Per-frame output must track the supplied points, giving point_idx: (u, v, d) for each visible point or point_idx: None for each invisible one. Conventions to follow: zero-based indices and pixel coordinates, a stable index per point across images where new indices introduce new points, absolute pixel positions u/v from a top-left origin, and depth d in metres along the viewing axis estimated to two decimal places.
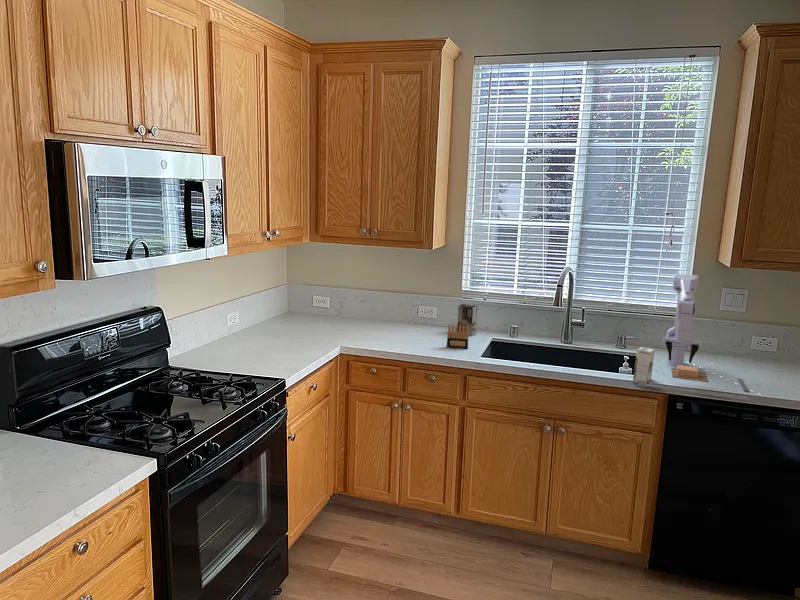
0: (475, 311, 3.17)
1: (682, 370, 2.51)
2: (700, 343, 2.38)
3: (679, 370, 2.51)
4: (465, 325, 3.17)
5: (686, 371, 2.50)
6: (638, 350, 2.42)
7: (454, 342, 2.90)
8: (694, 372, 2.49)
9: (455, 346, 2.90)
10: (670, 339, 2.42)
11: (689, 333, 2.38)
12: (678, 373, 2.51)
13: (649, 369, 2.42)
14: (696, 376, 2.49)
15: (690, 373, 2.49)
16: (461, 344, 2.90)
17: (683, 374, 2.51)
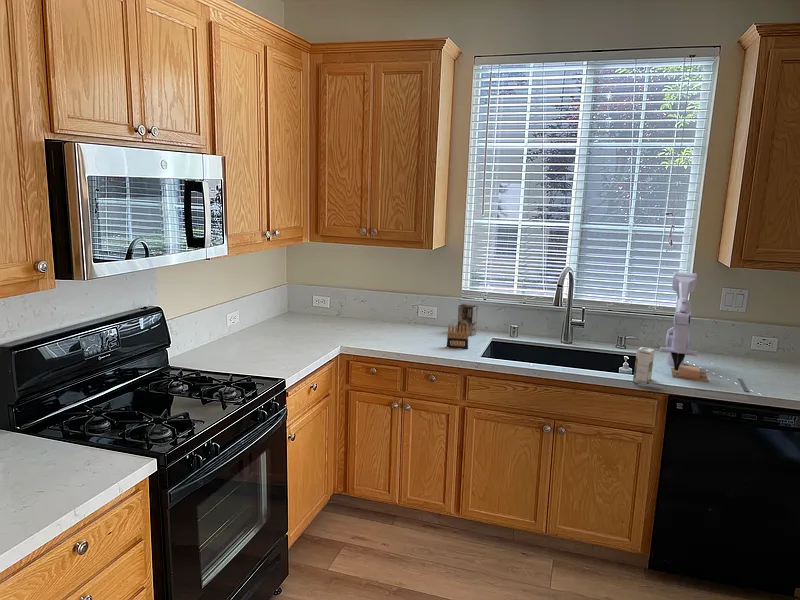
0: (475, 311, 3.17)
1: (684, 370, 2.50)
2: (695, 353, 2.50)
3: (681, 370, 2.51)
4: (465, 325, 3.17)
5: (688, 371, 2.50)
6: (638, 350, 2.42)
7: (454, 342, 2.90)
8: (696, 372, 2.49)
9: (455, 346, 2.90)
10: (667, 349, 2.53)
11: (685, 343, 2.50)
12: (680, 373, 2.51)
13: (649, 369, 2.42)
14: (698, 376, 2.48)
15: (692, 373, 2.49)
16: (461, 344, 2.90)
17: (685, 374, 2.50)
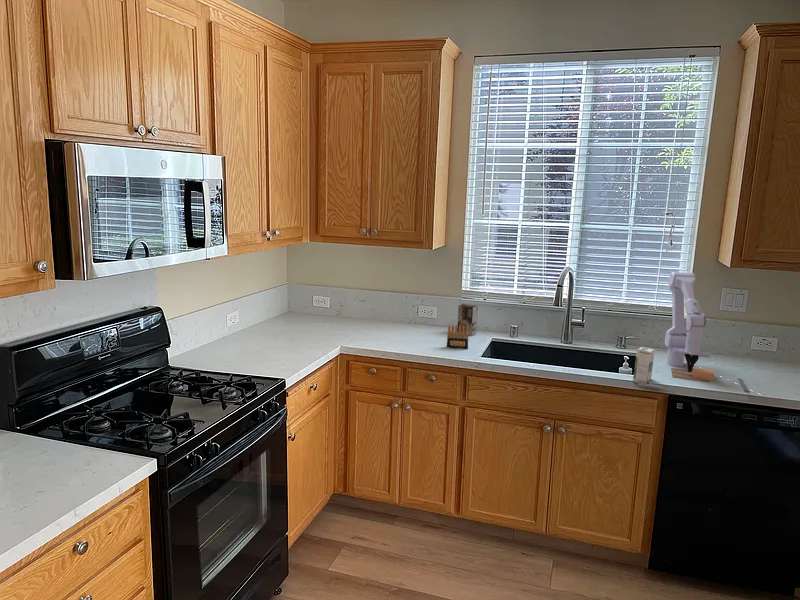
0: (475, 311, 3.17)
1: (698, 372, 2.48)
2: (709, 354, 2.48)
3: (694, 372, 2.49)
4: (465, 325, 3.17)
5: (702, 373, 2.48)
6: (638, 350, 2.42)
7: (454, 342, 2.90)
8: (710, 374, 2.46)
9: (455, 346, 2.90)
10: (680, 350, 2.51)
11: (698, 345, 2.48)
12: (693, 375, 2.49)
13: (649, 369, 2.42)
14: (712, 378, 2.46)
15: (706, 375, 2.47)
16: (461, 344, 2.90)
17: (699, 376, 2.48)
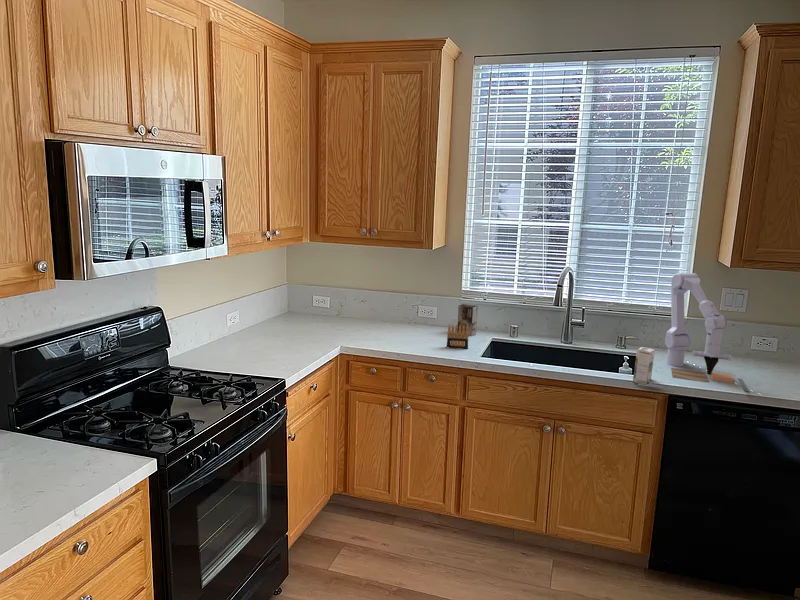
0: (475, 311, 3.17)
1: (716, 377, 2.46)
2: (729, 357, 2.45)
3: (713, 377, 2.46)
4: (465, 325, 3.17)
5: (720, 378, 2.45)
6: (638, 350, 2.42)
7: (454, 342, 2.90)
8: (729, 379, 2.44)
9: (455, 346, 2.90)
10: (700, 353, 2.49)
11: (718, 347, 2.45)
12: None
13: (649, 369, 2.42)
14: None
15: (725, 380, 2.45)
16: (461, 344, 2.90)
17: None
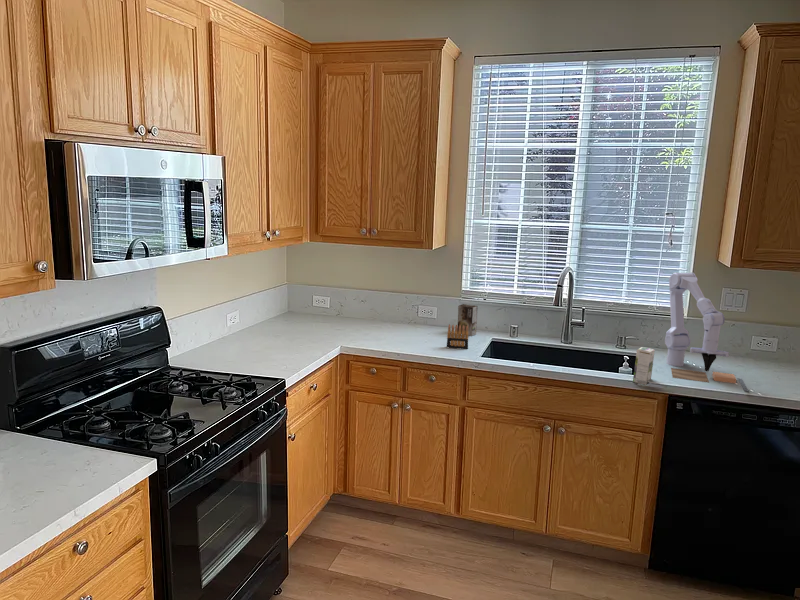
0: (475, 311, 3.17)
1: (719, 377, 2.45)
2: (727, 353, 2.45)
3: (716, 377, 2.46)
4: (465, 325, 3.17)
5: (723, 378, 2.45)
6: (638, 350, 2.42)
7: (454, 342, 2.90)
8: (731, 379, 2.44)
9: (455, 346, 2.90)
10: (697, 349, 2.49)
11: (716, 344, 2.45)
12: (715, 380, 2.46)
13: (649, 369, 2.42)
14: None
15: (727, 380, 2.44)
16: (461, 344, 2.90)
17: None
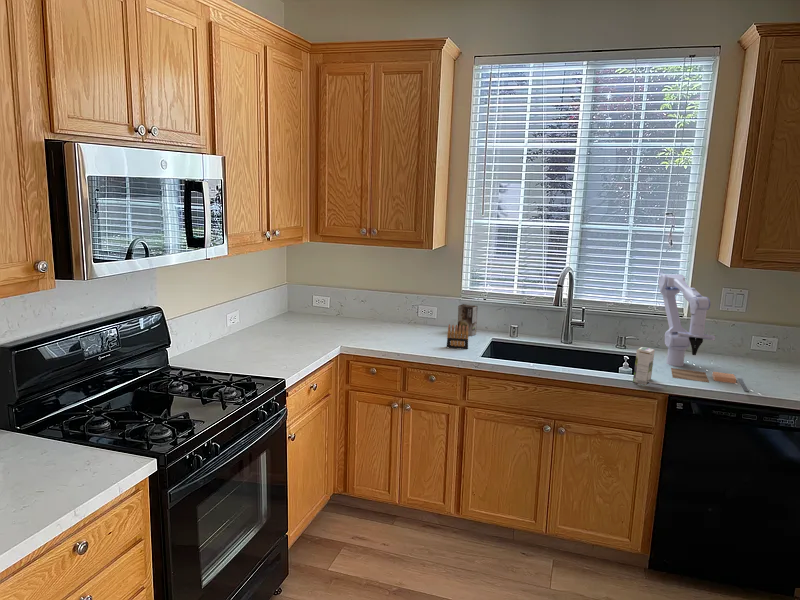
0: (475, 311, 3.17)
1: (719, 377, 2.45)
2: (713, 337, 2.50)
3: (716, 377, 2.46)
4: (465, 325, 3.17)
5: (723, 378, 2.45)
6: (638, 350, 2.42)
7: (454, 342, 2.90)
8: (731, 379, 2.44)
9: (455, 346, 2.90)
10: (684, 333, 2.53)
11: (703, 327, 2.50)
12: (715, 380, 2.46)
13: (649, 369, 2.42)
14: None
15: (727, 380, 2.44)
16: (461, 344, 2.90)
17: None
